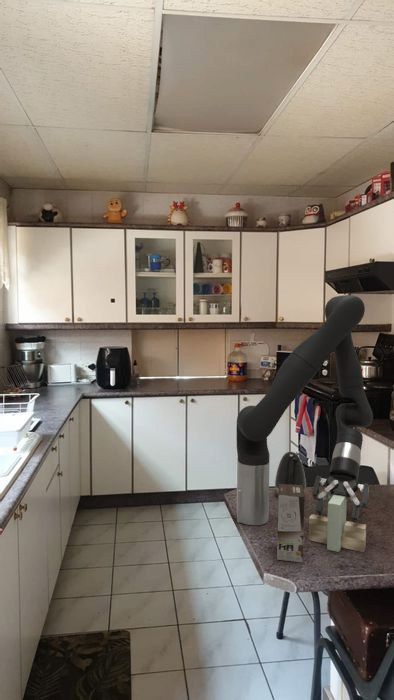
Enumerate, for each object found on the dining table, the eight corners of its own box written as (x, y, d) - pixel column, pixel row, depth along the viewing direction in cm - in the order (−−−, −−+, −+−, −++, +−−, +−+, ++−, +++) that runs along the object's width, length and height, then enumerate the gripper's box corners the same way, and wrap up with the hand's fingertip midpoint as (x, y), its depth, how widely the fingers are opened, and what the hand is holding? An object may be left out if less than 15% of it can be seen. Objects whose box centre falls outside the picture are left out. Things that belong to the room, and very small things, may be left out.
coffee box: (303, 563, 111) (305, 496, 110) (276, 560, 112) (277, 494, 112) (302, 546, 120) (304, 484, 119) (277, 543, 121) (278, 482, 121)
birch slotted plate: (308, 540, 123) (309, 517, 123) (311, 535, 126) (311, 513, 126) (363, 552, 117) (364, 528, 117) (365, 547, 120) (366, 524, 119)
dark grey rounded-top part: (283, 503, 149) (284, 457, 149) (269, 492, 159) (270, 449, 159) (311, 500, 152) (312, 455, 152) (296, 490, 162) (297, 447, 162)
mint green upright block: (338, 552, 117) (340, 505, 116) (326, 549, 118) (328, 503, 118) (345, 538, 125) (346, 494, 124) (334, 535, 126) (335, 492, 126)
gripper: (318, 452, 131) (306, 505, 121) (371, 459, 124) (363, 516, 114) (321, 466, 135) (311, 518, 126) (373, 473, 129) (366, 529, 119)
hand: (336, 517), depth 120 cm, fingers open, 8 cm apart
